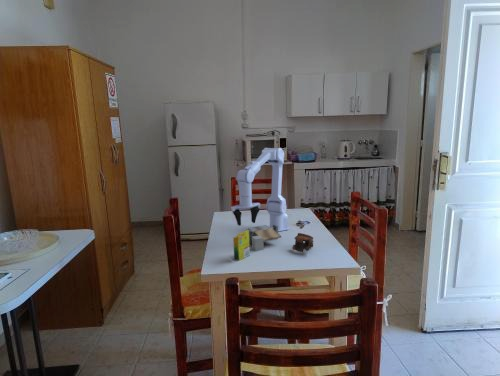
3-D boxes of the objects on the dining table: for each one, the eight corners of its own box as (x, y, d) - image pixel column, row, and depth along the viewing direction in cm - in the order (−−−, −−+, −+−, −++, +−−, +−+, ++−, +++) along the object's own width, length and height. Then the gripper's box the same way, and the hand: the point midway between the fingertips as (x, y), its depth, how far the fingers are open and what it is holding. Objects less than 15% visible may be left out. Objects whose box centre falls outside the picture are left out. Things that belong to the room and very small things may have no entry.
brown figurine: (287, 248, 152) (292, 231, 154) (303, 254, 156) (308, 237, 157) (302, 251, 141) (307, 232, 143) (319, 257, 145) (324, 239, 147)
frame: (271, 235, 170) (271, 223, 169) (278, 239, 165) (277, 226, 164) (243, 241, 163) (243, 228, 162) (250, 245, 158) (249, 231, 156)
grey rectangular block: (251, 236, 153) (252, 248, 154) (255, 239, 149) (255, 250, 150) (259, 235, 154) (260, 246, 155) (263, 238, 150) (263, 249, 151)
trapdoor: (267, 228, 170) (267, 223, 169) (282, 241, 158) (283, 235, 157) (246, 232, 164) (246, 226, 163) (260, 246, 152) (260, 239, 151)
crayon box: (245, 253, 147) (244, 228, 145) (250, 255, 145) (249, 229, 143) (233, 259, 141) (232, 232, 139) (238, 260, 139) (238, 234, 137)
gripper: (254, 192, 161) (255, 219, 163) (227, 196, 154) (228, 224, 157) (262, 194, 155) (262, 222, 157) (234, 198, 148) (235, 227, 150)
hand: (246, 223), depth 156 cm, fingers open, 7 cm apart
